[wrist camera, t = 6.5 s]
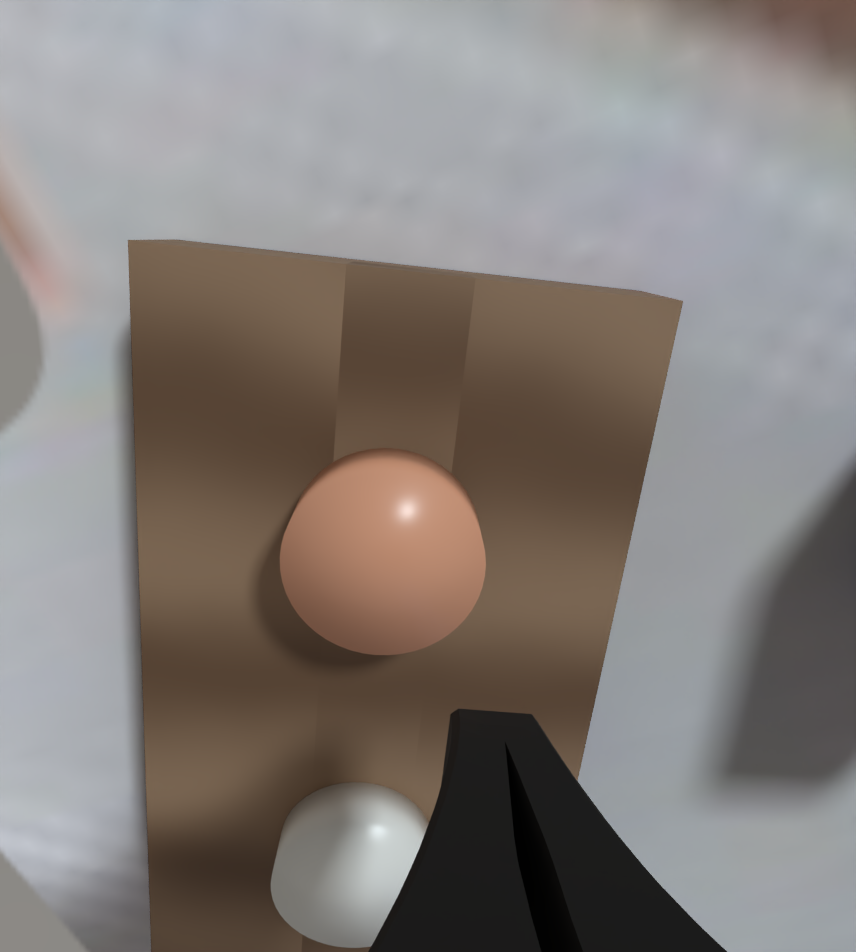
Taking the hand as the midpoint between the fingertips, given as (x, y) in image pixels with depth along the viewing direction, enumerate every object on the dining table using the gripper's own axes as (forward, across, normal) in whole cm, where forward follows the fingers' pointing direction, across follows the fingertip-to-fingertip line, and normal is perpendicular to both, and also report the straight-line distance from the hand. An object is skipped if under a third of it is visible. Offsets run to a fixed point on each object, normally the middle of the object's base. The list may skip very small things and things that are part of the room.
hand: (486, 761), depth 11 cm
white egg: (+9, +2, +9) cm, 12 cm away
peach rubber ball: (+8, +2, -1) cm, 8 cm away
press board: (+9, +2, +4) cm, 10 cm away
